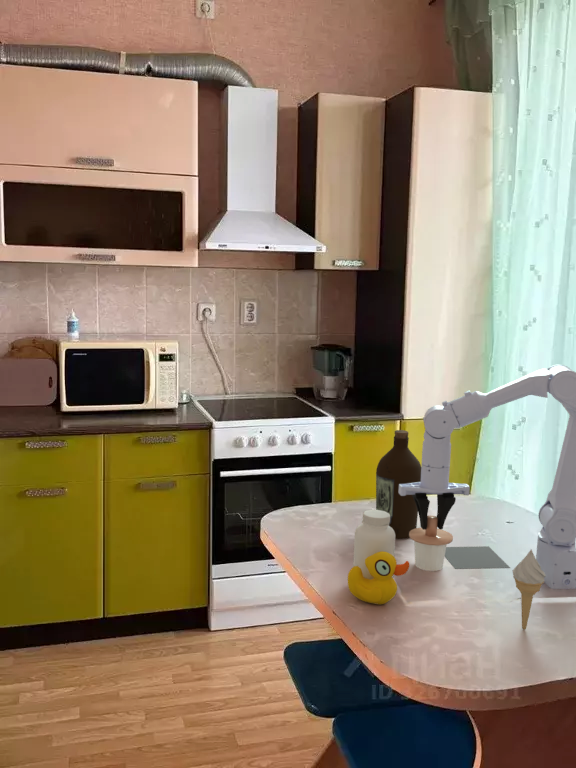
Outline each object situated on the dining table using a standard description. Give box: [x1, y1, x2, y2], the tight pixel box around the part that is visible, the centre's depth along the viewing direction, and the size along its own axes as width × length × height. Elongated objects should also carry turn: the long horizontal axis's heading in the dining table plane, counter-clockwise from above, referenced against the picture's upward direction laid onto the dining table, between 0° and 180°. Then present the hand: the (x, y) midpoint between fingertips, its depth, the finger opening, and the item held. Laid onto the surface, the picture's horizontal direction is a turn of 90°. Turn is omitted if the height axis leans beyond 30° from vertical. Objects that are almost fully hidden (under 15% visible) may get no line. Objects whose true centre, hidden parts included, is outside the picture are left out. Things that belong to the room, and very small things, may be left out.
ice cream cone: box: [512, 548, 546, 631], centre depth 132 cm, size 6×6×15 cm
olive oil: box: [375, 429, 422, 540], centre depth 176 cm, size 11×11×25 cm
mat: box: [444, 545, 511, 570], centre depth 164 cm, size 12×12×1 cm
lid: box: [409, 514, 454, 546], centre depth 157 cm, size 9×9×4 cm
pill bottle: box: [352, 509, 396, 579], centre depth 148 cm, size 8×8×15 cm
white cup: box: [413, 541, 448, 572], centre depth 158 cm, size 7×7×7 cm
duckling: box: [347, 551, 410, 605], centre depth 141 cm, size 11×5×10 cm, turn 75°
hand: (431, 527), depth 157 cm, fingers open, 3 cm apart
